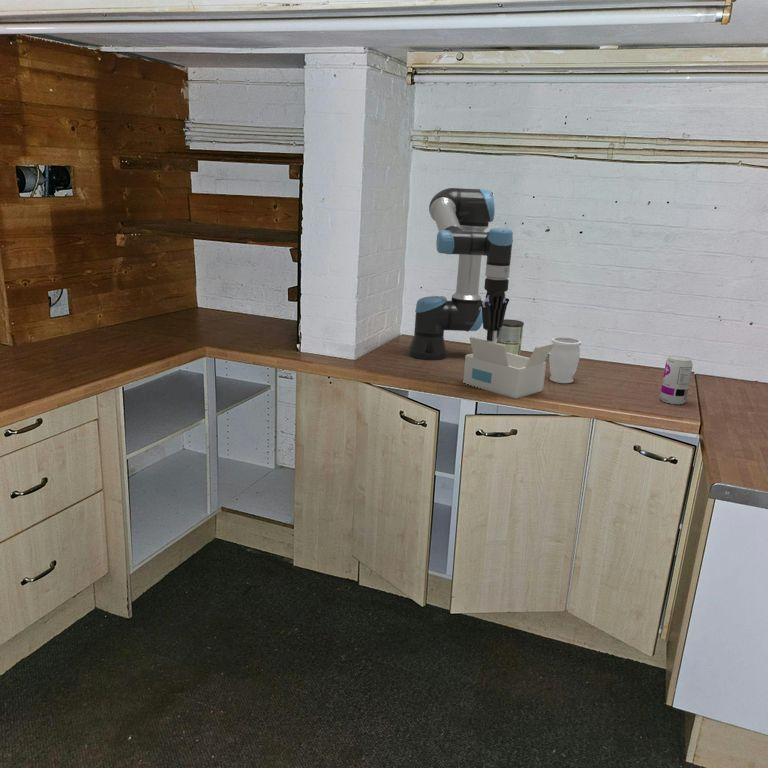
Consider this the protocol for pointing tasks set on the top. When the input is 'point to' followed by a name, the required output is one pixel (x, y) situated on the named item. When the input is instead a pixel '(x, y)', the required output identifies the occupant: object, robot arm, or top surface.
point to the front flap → (489, 351)
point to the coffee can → (511, 335)
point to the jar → (564, 359)
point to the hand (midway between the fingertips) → (490, 349)
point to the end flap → (539, 355)
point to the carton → (505, 376)
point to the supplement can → (676, 380)
